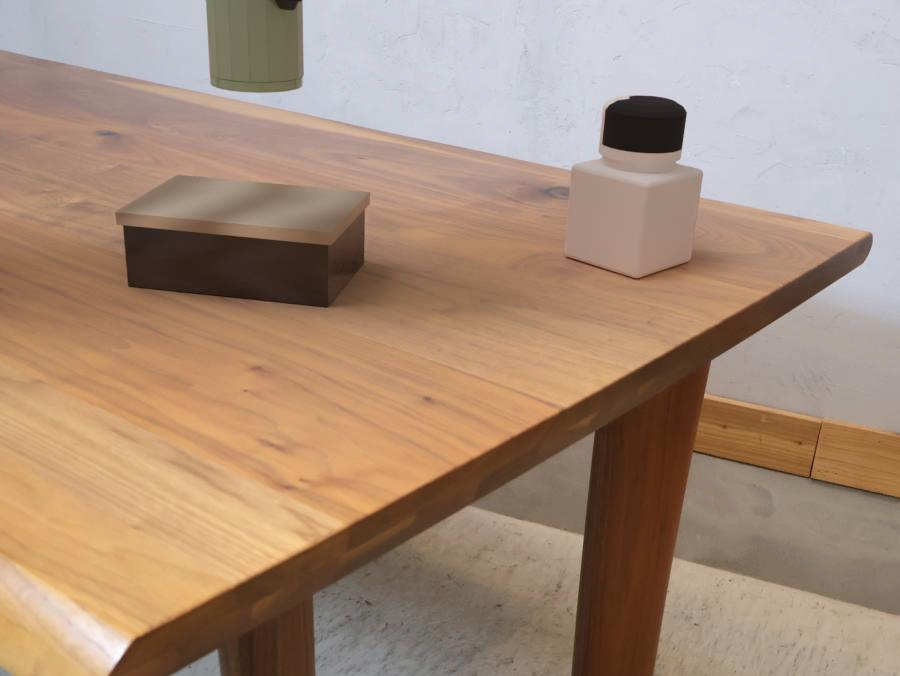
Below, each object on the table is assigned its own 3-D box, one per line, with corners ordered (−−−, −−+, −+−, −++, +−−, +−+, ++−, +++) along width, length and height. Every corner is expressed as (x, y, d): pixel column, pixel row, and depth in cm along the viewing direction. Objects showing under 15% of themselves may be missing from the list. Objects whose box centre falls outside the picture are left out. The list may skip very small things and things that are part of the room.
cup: (196, 88, 68) (186, -79, 64) (229, 74, 73) (222, -82, 69) (287, 95, 67) (283, -73, 63) (314, 80, 72) (312, -77, 68)
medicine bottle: (692, 262, 88) (715, 102, 83) (636, 280, 84) (657, 112, 78) (618, 240, 93) (635, 86, 87) (561, 256, 88) (576, 95, 83)
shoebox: (121, 287, 78) (114, 211, 75) (181, 243, 87) (177, 174, 85) (331, 309, 76) (331, 232, 73) (369, 261, 85) (370, 191, 83)
